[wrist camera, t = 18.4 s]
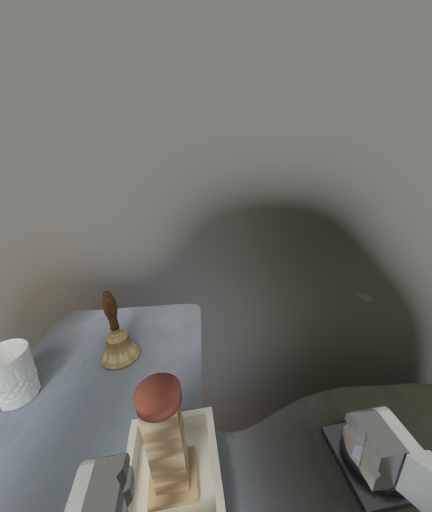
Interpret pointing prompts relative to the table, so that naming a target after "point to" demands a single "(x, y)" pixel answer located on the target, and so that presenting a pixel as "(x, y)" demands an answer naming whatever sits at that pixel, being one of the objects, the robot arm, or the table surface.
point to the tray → (207, 462)
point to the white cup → (17, 375)
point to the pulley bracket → (361, 476)
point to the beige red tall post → (166, 443)
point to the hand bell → (117, 340)
